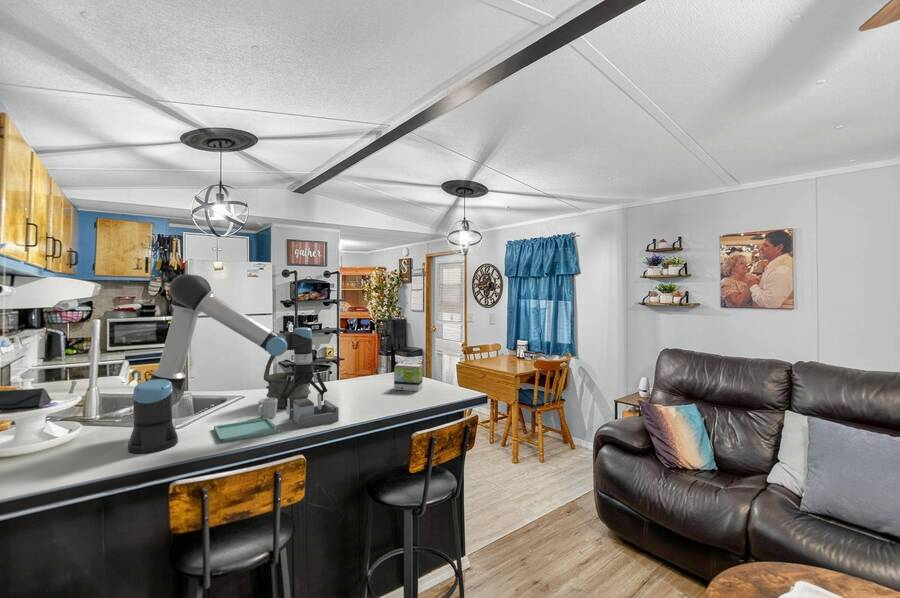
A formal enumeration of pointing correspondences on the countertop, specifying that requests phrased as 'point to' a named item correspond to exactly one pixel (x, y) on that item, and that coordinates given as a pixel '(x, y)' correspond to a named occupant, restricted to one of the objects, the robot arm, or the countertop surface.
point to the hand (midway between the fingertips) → (304, 411)
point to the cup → (267, 407)
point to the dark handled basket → (278, 382)
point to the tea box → (408, 376)
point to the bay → (319, 415)
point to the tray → (245, 430)
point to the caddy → (302, 408)
